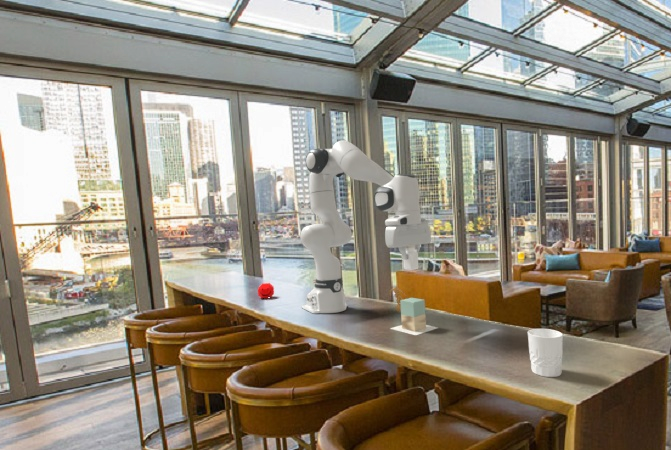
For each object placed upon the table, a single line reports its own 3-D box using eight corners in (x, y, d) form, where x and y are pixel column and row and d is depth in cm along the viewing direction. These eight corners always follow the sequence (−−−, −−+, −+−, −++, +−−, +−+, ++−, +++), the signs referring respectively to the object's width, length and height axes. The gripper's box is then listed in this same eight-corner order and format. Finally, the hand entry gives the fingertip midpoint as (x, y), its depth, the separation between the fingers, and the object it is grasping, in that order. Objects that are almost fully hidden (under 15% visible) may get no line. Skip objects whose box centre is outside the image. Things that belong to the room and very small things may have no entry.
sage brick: (401, 314, 144) (400, 300, 144) (412, 311, 148) (411, 297, 147) (413, 317, 139) (413, 302, 139) (425, 313, 143) (424, 299, 143)
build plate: (389, 331, 144) (389, 328, 144) (412, 324, 152) (412, 321, 152) (415, 338, 135) (415, 335, 135) (438, 330, 142) (438, 327, 142)
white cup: (555, 365, 106) (553, 328, 106) (570, 378, 98) (568, 337, 98) (524, 366, 107) (522, 329, 106) (536, 378, 99) (535, 338, 99)
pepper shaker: (412, 270, 140) (411, 243, 140) (403, 270, 143) (401, 243, 143) (419, 269, 143) (417, 242, 143) (409, 268, 146) (408, 242, 145)
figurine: (411, 313, 169) (410, 284, 168) (404, 316, 164) (402, 286, 164) (395, 310, 174) (393, 283, 174) (387, 313, 170) (385, 285, 169)
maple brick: (401, 328, 144) (401, 314, 144) (413, 324, 148) (412, 311, 147) (414, 331, 139) (414, 317, 139) (426, 327, 143) (425, 313, 143)
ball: (258, 300, 213) (257, 285, 213) (259, 297, 221) (258, 283, 221) (273, 299, 213) (272, 284, 213) (274, 296, 221) (273, 282, 221)
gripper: (420, 218, 151) (422, 255, 152) (381, 221, 139) (383, 261, 139) (434, 217, 146) (436, 255, 147) (394, 220, 134) (397, 262, 134)
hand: (410, 258), depth 143 cm, fingers closed on pepper shaker, 4 cm apart
